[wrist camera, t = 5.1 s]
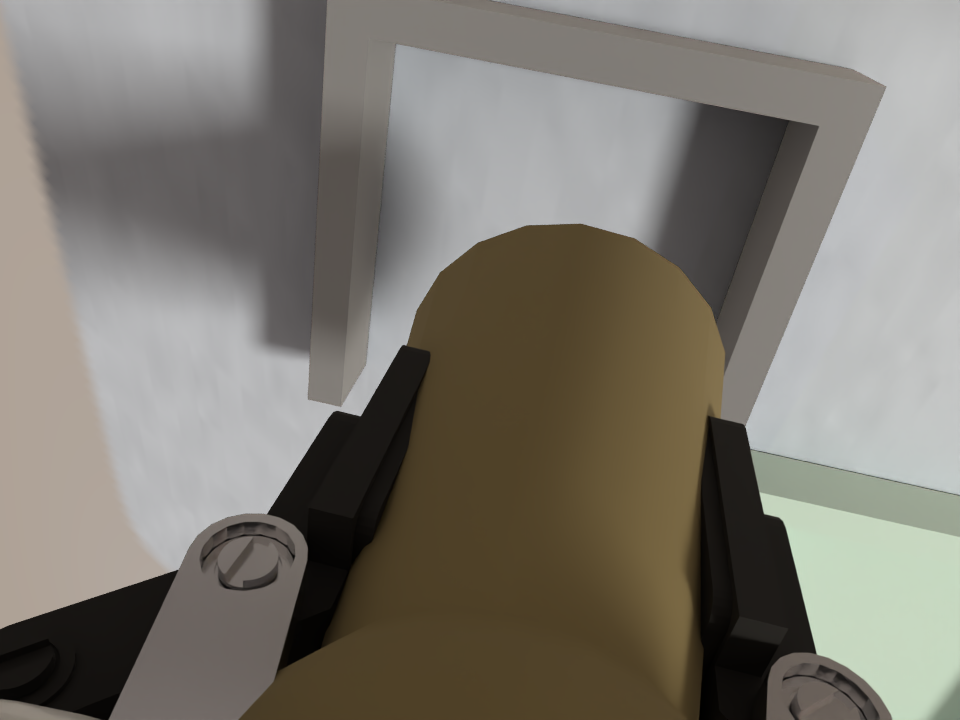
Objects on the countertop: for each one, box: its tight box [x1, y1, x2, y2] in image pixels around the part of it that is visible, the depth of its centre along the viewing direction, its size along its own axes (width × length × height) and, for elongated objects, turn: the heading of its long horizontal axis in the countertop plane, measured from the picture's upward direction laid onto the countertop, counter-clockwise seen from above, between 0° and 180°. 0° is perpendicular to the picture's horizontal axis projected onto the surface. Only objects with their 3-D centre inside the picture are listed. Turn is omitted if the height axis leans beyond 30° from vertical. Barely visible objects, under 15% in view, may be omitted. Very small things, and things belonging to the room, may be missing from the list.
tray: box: [750, 450, 960, 720], centre depth 25 cm, size 12×12×2 cm
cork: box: [238, 224, 725, 720], centre depth 10 cm, size 6×6×11 cm
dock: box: [308, 0, 886, 426], centre depth 20 cm, size 12×11×2 cm
